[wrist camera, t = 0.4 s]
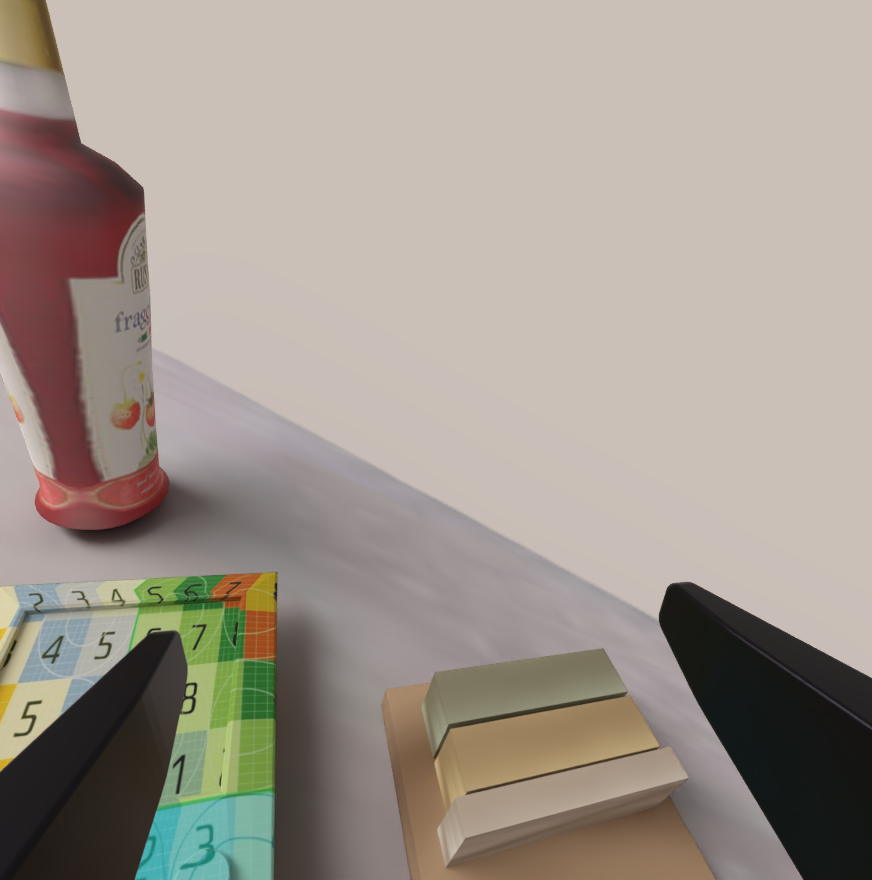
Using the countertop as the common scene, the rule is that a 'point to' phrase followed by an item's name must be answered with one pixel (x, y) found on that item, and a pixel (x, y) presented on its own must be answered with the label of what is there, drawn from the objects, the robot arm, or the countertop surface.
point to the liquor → (72, 295)
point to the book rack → (535, 776)
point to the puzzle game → (202, 713)
